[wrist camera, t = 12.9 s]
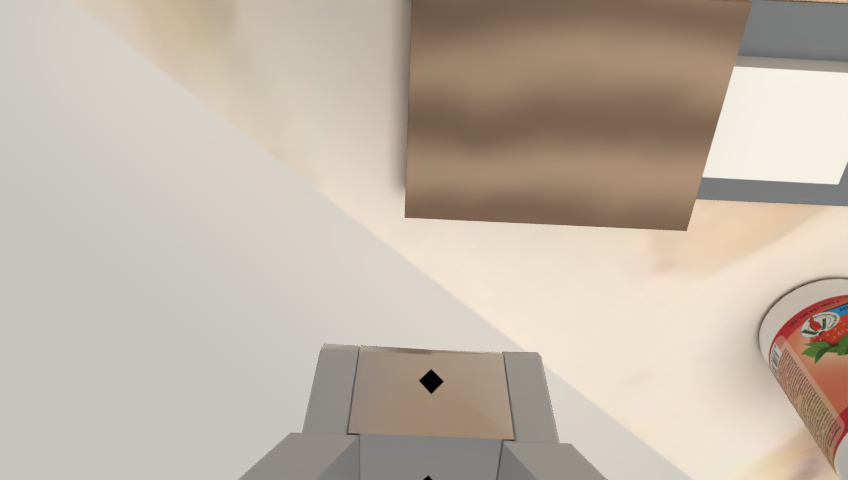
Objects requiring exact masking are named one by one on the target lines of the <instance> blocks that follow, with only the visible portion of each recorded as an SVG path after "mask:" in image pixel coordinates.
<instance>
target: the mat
mask: <svg viewBox="0 0 848 480" xmlns="http://www.w3.org/2000/svg"><path fill="white" fill-rule="evenodd" d="M748 1H750V2H752V6H751V9H750V13H749V16H748V20H747V23H746V27H745V30H744V34H743V37H742V41H741V44H740V48H739V51H738V54H737V56H754V57H771V58H789V59H806V60H824V61H841V62H848V4H846V3H827V2H807V1H787V0H748ZM696 199H705V200H726V201H747V202H768V203H789V204H810V205H831V206H848V162H847V165H846V167H845V169H844V172H843V174H842V177H841V179H840V181H839V184H838V185H836V184H818V183H800V182H782V181H764V180H746V179H727V178H709V177H702V179H701V183H700V186H699V189H698V193H697V196H696Z"/></svg>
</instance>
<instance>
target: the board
mask: <svg viewBox="0 0 848 480" xmlns="http://www.w3.org/2000/svg"><path fill="white" fill-rule="evenodd" d="M751 6H752V2H750V1H748V0H412V19H411V48H410V77H409V106H408V135H407V165H406V194H405V218H424V219H446V220H467V221H488V222H509V223H531V224H552V225H573V226H594V227H616V228H637V229H658V230H679V231H687V228H688V224H689V221H690V217H691V214H692V210H693V207H694V203H695V200H696V196H697V193H698V189H699V186H700V183H701V179H702V176H703V172H704V169H705V165H706V162H707V158H708V155H709V151H710V148H711V144H712V141H713V138H714V134H715V131H716V127H717V124H718V120H719V117H720V113H721V110H722V106H723V103H724V99H725V96H726V93H727V89H728V86H729V82H730V79H731V75H732V72H733V68H734V65H735V61H736V58H737V54H738V51H739V48H740V44H741V41H742V37H743V34H744V30H745V27H746V23H747V20H748V16H749V13H750V9H751Z"/></svg>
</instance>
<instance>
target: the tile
mask: <svg viewBox="0 0 848 480" xmlns="http://www.w3.org/2000/svg"><path fill="white" fill-rule="evenodd" d="M847 162H848V62H841V61H824V60H806V59H789V58H771V57H754V56H737V58H736V61H735V65H734V68H733V72H732V75H731V79H730V82H729V86H728V89H727V93H726V96H725V99H724V103H723V106H722V110H721V113H720V117H719V120H718V124H717V127H716V131H715V134H714V138H713V141H712V144H711V148H710V151H709V155H708V158H707V162H706V165H705V169H704V172H703V176H702V177H709V178H727V179H746V180H764V181H782V182H800V183H818V184H836V185H838V184H839V181H840V179H841V177H842V174H843V172H844V169H845V167H846V165H847Z"/></svg>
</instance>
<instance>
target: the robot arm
mask: <svg viewBox="0 0 848 480" xmlns="http://www.w3.org/2000/svg"><path fill="white" fill-rule="evenodd" d="M238 480H607V479H606V478H605V477H604V476H603V475H602V474H601V473H600V472H599V471H598V470H597V469H596V468H595V467H594V466H593V465H592V464H591V463H590V462H589V461H588V460H587V459H586V458H585V457H584V456H583V455H582V454H581V453H580V452H579V451H578V450H577V449H576V448H574V446H573V445H572V444H565V443H564V444H563V443H559V438H558V433H557V429H556V424H555V419H554V415H553V410H552V405H551V400H550V396H549V391H548V387H547V382H546V377H545V372H544V367H543V363H542V358H541V356H540V355H539V354H538V353H536V352H502V353H500V352H473V351H446V350H424V349H408V348H394V347H393V348H392V347H378V346H363V345H361V347H360V346H353V345H336V344H324V345H323V347H322V349H321V351H320V354H319V358H318V363H317V367H316V372H315V377H314V381H313V385H312V390H311V395H310V399H309V403H308V408H307V412H306V417H305V422H304V426H303V431H302V433H290V434H289V435H287V436H286V437H285V438H284V439H283V440H282V441H281V442H280V443H279V444H277V445H276V446H275V447H274V448H273V449H272V450H271V451H270V452H269V453H268V454H266V455H265V456H264V457H263V458H262V459H261V460H260V461H258V462H257V463H256V464H255V465H254V466H253V467H252V468H251V469H250V470H248V471H247V472H246V473H245V474H244V475H243V476H242V477H241V478H239V479H238Z"/></svg>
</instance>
